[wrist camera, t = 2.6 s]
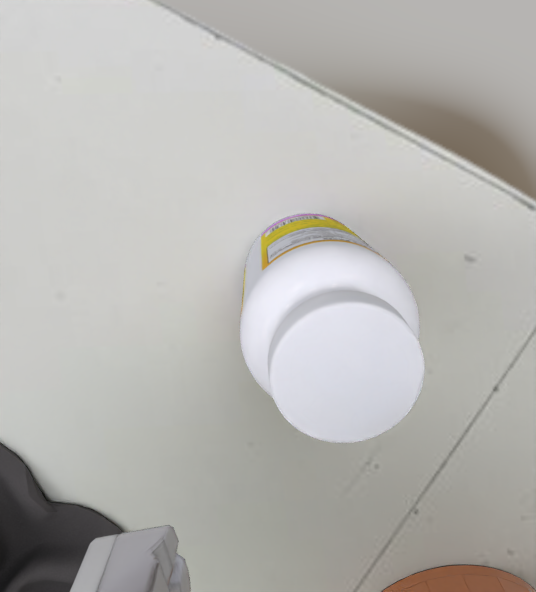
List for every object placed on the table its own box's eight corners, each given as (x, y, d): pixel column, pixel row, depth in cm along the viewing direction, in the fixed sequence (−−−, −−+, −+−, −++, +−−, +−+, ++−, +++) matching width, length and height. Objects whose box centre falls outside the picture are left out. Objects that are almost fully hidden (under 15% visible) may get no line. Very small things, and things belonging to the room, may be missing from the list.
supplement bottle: (321, 348, 28) (371, 506, 16) (222, 290, 27) (192, 413, 15) (389, 251, 26) (504, 343, 14) (287, 186, 25) (315, 224, 13)
